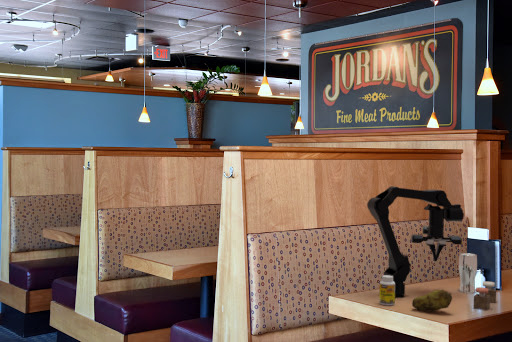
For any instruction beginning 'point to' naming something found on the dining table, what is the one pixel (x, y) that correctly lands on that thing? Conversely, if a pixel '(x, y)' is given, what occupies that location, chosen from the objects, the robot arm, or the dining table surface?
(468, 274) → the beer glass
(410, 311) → the dining table surface
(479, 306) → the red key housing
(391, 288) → the supplement bottle
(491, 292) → the ivory key housing
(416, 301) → the potato
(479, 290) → the red rounded knob
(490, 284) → the ivory key
